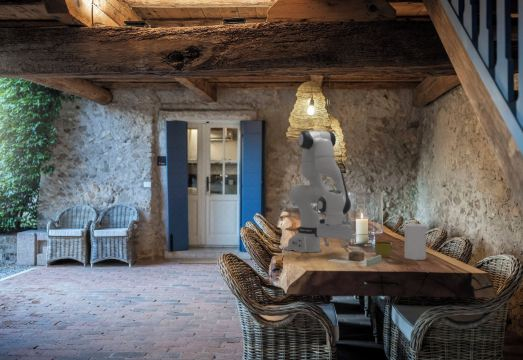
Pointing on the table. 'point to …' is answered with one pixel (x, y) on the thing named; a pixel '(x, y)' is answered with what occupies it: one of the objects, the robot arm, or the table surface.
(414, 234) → the cup
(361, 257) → the walnut block
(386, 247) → the flower pot
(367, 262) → the trap deck
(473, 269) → the table surface
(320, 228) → the robot arm
